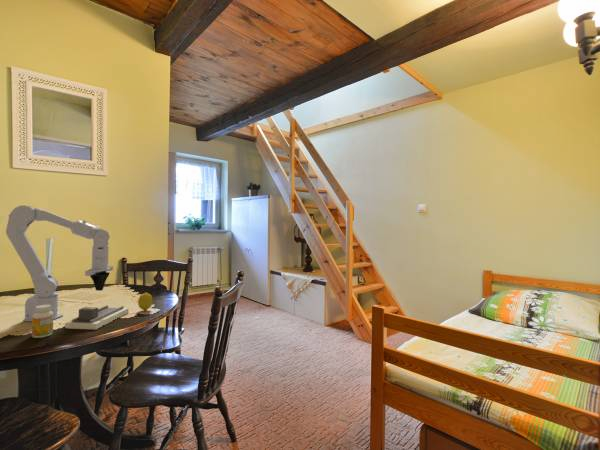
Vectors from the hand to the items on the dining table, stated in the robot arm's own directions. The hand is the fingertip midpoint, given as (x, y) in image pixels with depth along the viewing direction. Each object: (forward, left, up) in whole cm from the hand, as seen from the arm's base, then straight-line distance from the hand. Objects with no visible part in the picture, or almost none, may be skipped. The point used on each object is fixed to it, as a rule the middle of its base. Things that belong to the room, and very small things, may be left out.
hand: (99, 290), depth 128 cm
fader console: (+7, -9, -9) cm, 15 cm away
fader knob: (+7, -15, -7) cm, 18 cm away
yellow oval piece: (+17, +5, -10) cm, 20 cm away
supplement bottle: (-1, -26, -10) cm, 28 cm away
